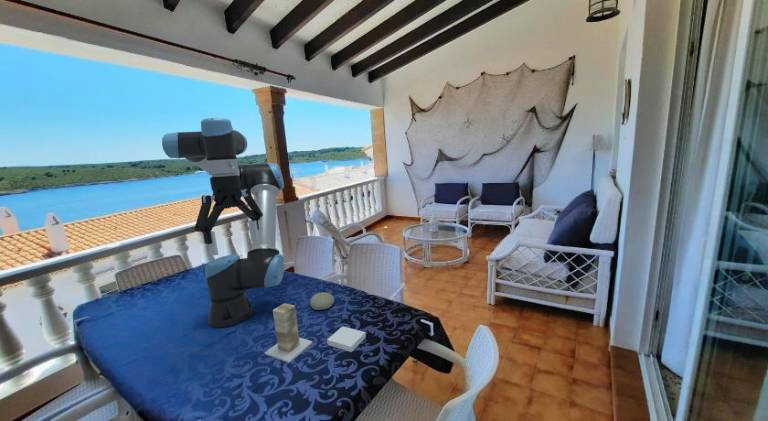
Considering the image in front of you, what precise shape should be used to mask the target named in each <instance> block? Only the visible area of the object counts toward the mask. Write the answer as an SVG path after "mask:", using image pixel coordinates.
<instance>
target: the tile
mask: <svg viewBox="0 0 768 421" xmlns="http://www.w3.org/2000/svg"><path fill="white" fill-rule="evenodd" d="M366 334H367V333H366V331H361V330H358V329H355V328H351V327H346V326H343V325H342V326H341V327H340V328H339V329H338V330H336V331H335V332H334V333H333V334H332V335H330V336H329V337H328V338H327V339H326V341H327V342H326V343H327V345H328V346H330V347H332V348H333V347H334V348H336V349H340V350H343V351H345V352H349V353H352V352H354V350H355V349H356V348H358V346H359V345H360V344H361V343H362V342H363V341H364V340H365V339H366V338H367V337H366V336H367V335H366Z"/></svg>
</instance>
